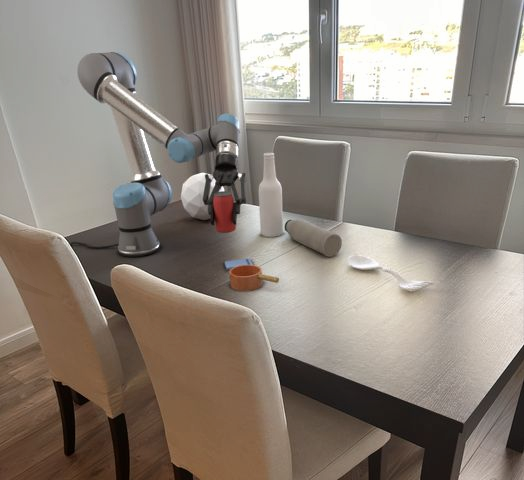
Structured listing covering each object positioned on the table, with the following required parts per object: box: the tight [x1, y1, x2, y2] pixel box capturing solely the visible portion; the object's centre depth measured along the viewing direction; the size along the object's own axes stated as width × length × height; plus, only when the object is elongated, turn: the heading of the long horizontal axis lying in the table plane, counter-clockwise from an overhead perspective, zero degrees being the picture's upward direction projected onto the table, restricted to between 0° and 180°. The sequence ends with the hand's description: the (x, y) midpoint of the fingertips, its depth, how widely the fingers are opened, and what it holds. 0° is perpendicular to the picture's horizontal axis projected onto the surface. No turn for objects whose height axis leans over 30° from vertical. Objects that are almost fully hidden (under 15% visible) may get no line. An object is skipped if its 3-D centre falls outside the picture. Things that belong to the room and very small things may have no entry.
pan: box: [228, 264, 263, 292], centre depth 151 cm, size 10×10×4 cm
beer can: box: [213, 190, 237, 234], centre depth 158 cm, size 7×7×12 cm
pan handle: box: [258, 273, 280, 284], centre depth 146 cm, size 7×2×2 cm, turn 56°
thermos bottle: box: [284, 218, 343, 258], centre depth 178 cm, size 8×8×28 cm
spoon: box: [346, 254, 435, 292], centre depth 150 cm, size 9×32×4 cm, turn 30°
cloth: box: [224, 258, 253, 271], centre depth 166 cm, size 6×9×1 cm
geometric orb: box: [180, 172, 225, 221], centre depth 212 cm, size 19×20×20 cm
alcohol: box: [258, 152, 284, 238], centre depth 186 cm, size 9×9×30 cm
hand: (223, 222), depth 156 cm, fingers closed on beer can, 7 cm apart
